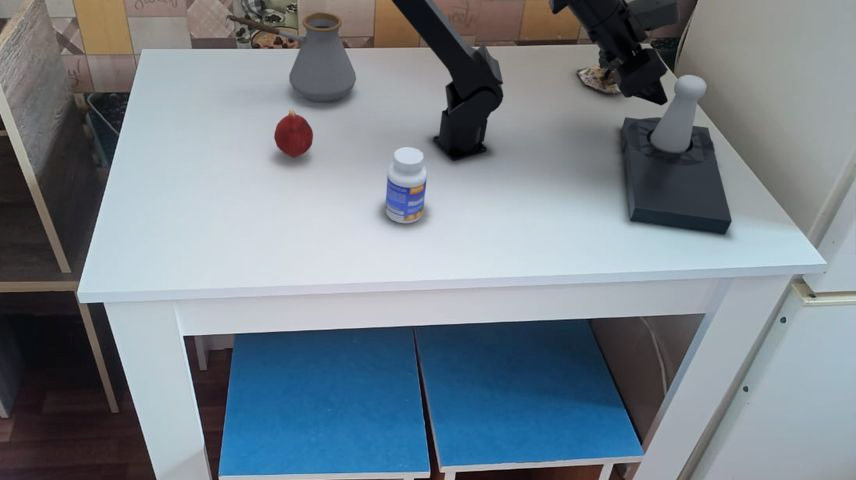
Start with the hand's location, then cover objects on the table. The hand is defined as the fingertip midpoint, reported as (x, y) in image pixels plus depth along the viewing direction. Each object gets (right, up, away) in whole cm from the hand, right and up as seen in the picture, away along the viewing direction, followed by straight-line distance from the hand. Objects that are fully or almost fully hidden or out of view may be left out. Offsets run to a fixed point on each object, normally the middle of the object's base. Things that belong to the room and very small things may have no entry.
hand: (656, 86), depth 108 cm
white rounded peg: (+5, -9, +8) cm, 13 cm away
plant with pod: (0, +6, +23) cm, 24 cm away
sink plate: (+3, -13, +4) cm, 14 cm away
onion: (-54, -10, +5) cm, 55 cm away
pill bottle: (-37, -19, -4) cm, 42 cm away
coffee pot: (-55, +3, +18) cm, 58 cm away
